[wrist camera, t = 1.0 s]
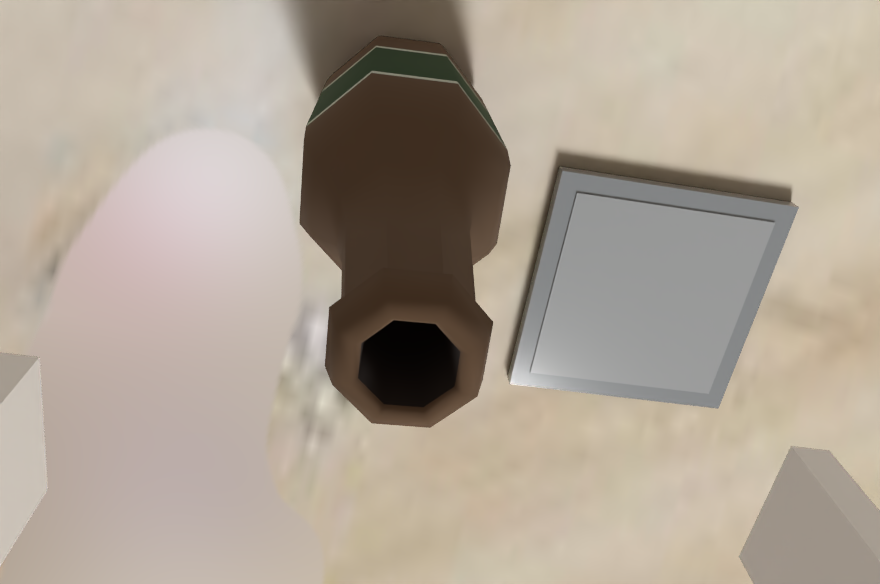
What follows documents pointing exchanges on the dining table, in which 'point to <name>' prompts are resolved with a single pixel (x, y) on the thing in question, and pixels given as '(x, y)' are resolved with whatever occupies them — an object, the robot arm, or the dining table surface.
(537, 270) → the plate
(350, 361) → the beer bottle
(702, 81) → the dining table surface
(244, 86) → the dining table surface
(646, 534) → the dining table surface
